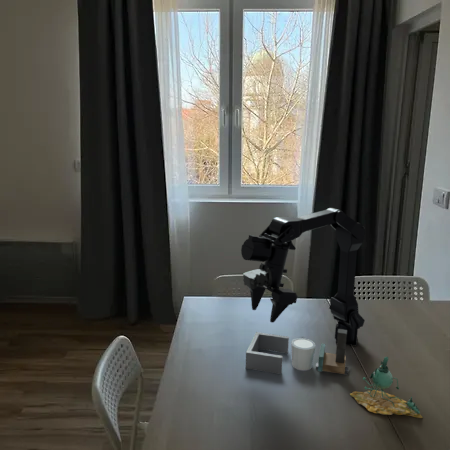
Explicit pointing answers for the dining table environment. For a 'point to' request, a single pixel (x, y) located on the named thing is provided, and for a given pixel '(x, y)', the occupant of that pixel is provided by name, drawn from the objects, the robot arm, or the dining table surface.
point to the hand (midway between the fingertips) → (262, 315)
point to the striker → (334, 356)
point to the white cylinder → (302, 353)
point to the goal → (263, 359)
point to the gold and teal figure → (384, 395)
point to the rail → (345, 368)
